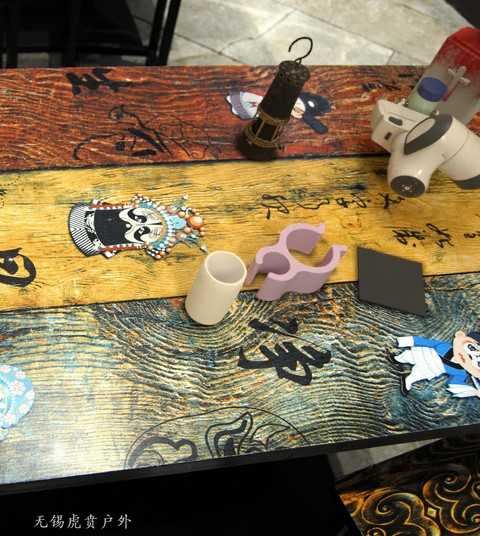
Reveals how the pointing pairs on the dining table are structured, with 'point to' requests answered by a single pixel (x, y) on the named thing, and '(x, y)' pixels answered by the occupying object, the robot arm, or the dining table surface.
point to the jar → (421, 104)
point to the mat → (391, 281)
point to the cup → (215, 287)
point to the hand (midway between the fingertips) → (418, 106)
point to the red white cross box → (458, 74)
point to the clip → (293, 263)
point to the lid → (432, 89)
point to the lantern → (275, 109)
